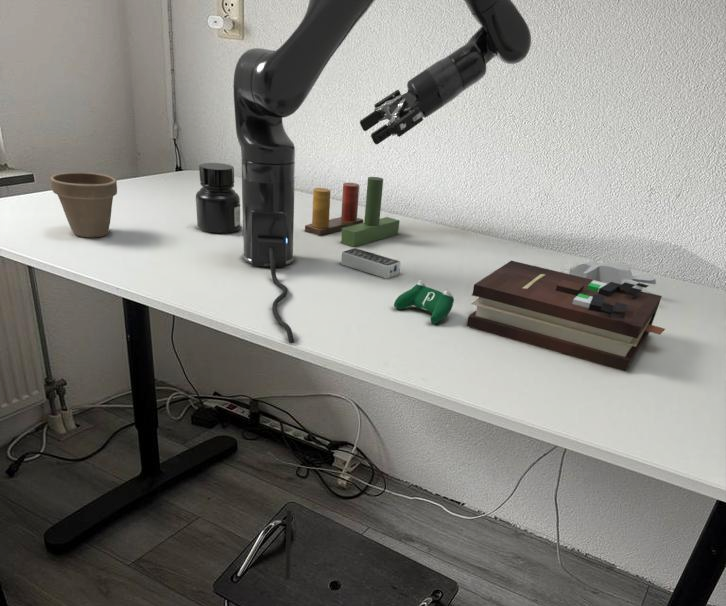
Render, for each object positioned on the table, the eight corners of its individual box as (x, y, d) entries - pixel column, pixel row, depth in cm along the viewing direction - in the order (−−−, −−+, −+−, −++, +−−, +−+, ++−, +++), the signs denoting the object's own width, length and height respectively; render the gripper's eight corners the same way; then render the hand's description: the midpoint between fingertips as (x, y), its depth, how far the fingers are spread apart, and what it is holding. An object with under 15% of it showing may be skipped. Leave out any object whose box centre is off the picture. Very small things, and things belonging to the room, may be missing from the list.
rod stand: (320, 235, 141) (322, 193, 136) (304, 230, 143) (306, 188, 138) (363, 225, 151) (366, 185, 146) (347, 220, 153) (350, 181, 148)
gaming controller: (442, 333, 107) (462, 303, 107) (434, 321, 103) (455, 289, 104) (399, 316, 111) (418, 286, 112) (390, 303, 108) (410, 273, 108)
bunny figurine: (588, 254, 131) (663, 266, 122) (584, 280, 134) (656, 293, 125) (564, 261, 125) (640, 274, 116) (560, 289, 128) (634, 303, 119)
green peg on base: (354, 246, 136) (358, 184, 129) (340, 242, 138) (344, 180, 131) (398, 234, 147) (404, 176, 140) (385, 230, 149) (391, 172, 142)
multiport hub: (354, 259, 129) (354, 247, 128) (400, 273, 124) (401, 261, 123) (340, 263, 126) (340, 251, 125) (386, 278, 121) (388, 266, 120)
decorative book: (501, 251, 115) (680, 292, 104) (493, 293, 119) (664, 337, 108) (457, 277, 101) (658, 328, 90) (449, 324, 105) (641, 378, 94)
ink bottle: (248, 232, 138) (247, 170, 131) (208, 236, 134) (205, 172, 127) (228, 220, 144) (226, 160, 137) (190, 223, 140) (186, 162, 133)
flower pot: (122, 225, 135) (115, 172, 129) (124, 241, 126) (117, 185, 121) (60, 225, 132) (51, 170, 126) (58, 242, 123) (48, 183, 117)
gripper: (416, 60, 136) (349, 106, 138) (441, 78, 126) (368, 127, 129) (430, 95, 141) (365, 138, 144) (454, 115, 132) (384, 161, 134)
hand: (367, 133), depth 136 cm, fingers open, 8 cm apart
